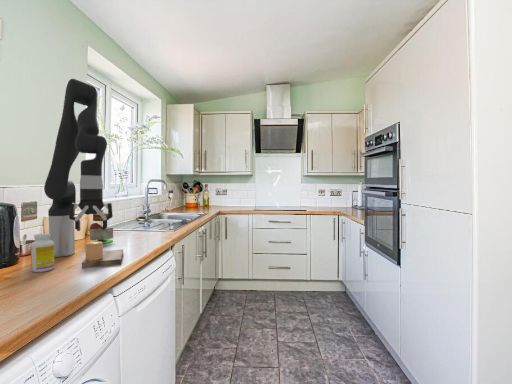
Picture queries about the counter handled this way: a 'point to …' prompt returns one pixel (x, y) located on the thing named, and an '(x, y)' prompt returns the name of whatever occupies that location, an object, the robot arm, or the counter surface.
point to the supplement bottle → (42, 253)
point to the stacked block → (100, 231)
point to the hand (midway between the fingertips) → (91, 230)
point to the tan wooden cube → (94, 251)
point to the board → (105, 259)
